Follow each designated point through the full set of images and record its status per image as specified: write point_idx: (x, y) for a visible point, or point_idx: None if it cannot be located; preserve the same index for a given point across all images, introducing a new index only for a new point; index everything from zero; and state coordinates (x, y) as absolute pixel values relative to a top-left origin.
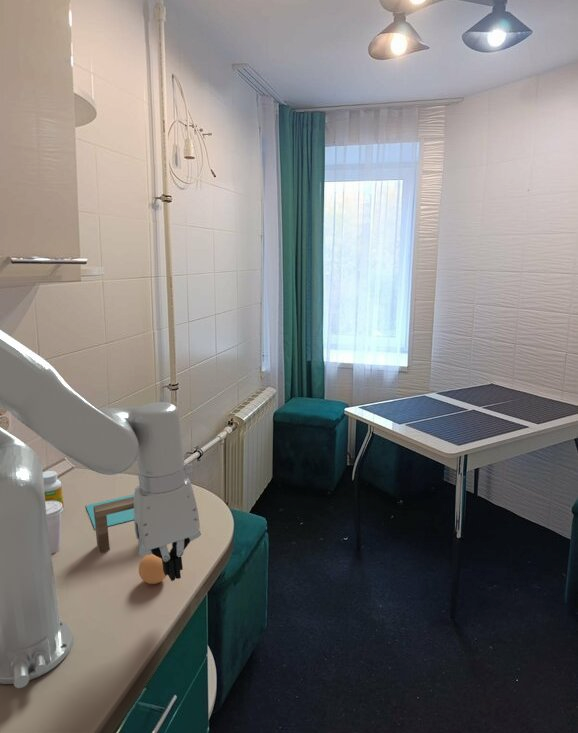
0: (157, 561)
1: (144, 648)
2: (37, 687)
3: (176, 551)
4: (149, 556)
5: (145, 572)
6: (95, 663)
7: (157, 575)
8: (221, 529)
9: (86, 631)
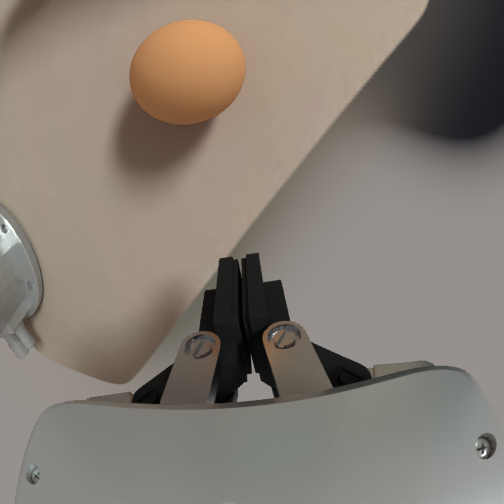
0: (195, 95)
1: (164, 315)
2: (37, 323)
3: (274, 397)
4: (161, 63)
5: (149, 113)
6: (90, 316)
7: (194, 123)
8: None
9: (49, 237)
